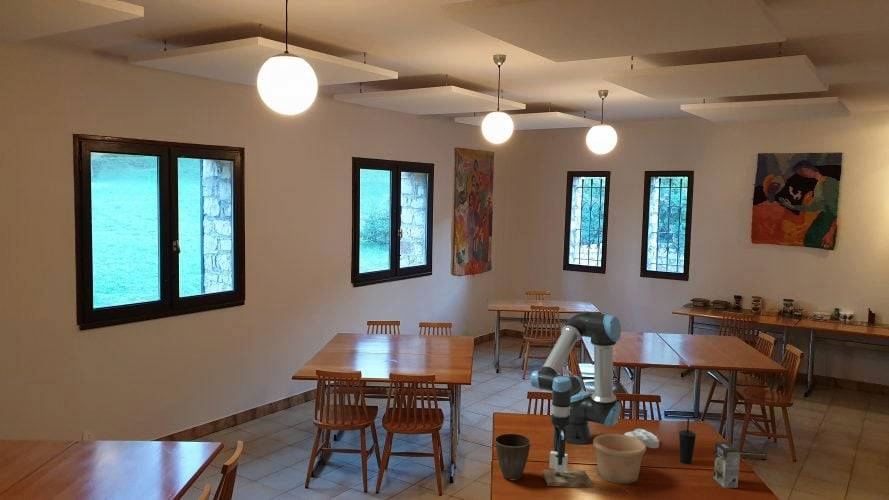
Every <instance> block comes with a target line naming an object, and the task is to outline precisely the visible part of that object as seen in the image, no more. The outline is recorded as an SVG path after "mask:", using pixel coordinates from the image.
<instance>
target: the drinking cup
mask: <svg viewBox="0 0 889 500" xmlns="http://www.w3.org/2000/svg"><path fill="white" fill-rule="evenodd" d="M686 423H687V424H686V428H685V429H680V430H678V436H679V440H678V442H679V460H680V461H679V462H680V463H682V464H684V465H691V464H692V462H693V455H694V449H695V445H696V444H695V443H696V437H697V432H695V431H693V430H691V429H689V427H690V418H687V422H686Z"/></svg>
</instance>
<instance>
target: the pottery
mask: <svg viewBox="0 0 889 500" xmlns="http://www.w3.org/2000/svg"><path fill="white" fill-rule="evenodd" d="M592 446H593V447H594V448H595V452H596V464H597V475H599V477H600V478H601V479H603V480H605V481H606V482H610V483H614V484H618V485H619V484H621V485H622V484H623V485H626V484H628V485H629V484H633V483H635V482H637V481H638V479H639V475H640V469H641V467H642V466H641V464H642V459H643V456H644V454H645V453H646V451H647V446H646V445H645V444H644V443H643V442H642V441H641V440H639V439H636V438H634V437H630V436H627V435H624V434H620V433H619V434H618V433H604V434H599V435H596V436H595V437H594V438H593V439H592Z"/></svg>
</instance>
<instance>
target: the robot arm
mask: <svg viewBox="0 0 889 500" xmlns="http://www.w3.org/2000/svg"><path fill="white" fill-rule="evenodd" d="M621 333H622V326H621V322H620V319H619V318H618V317H617V316H615V315H611V314H607V313H597V312H590V311H582V312H578V313H576V314H574V315H573V316H571V317H570V318H569V319H568V320H567V321H566V322H565V323H564V324H563V326H562V328H561V334H560V336H559V337H558V339H557V341H556V342H555V344H554V346H553V347H552V349H551V351H550V353H549V355H548V357H547V358H546V360H545V362H544V364H542V367H541V369H540V370H534V371H532V373H531V375H530V380H529V381H530V385H531V387H533V388H535V389H539V390H544V391H548V392H552V394H551V395H552V399H551V416H550V417H551V419H550V421H551V425H553V426H554V427H553V448H554V449H553V450H554V452H557V455H556V457H557V458H556V469H555V470H556V472H563V458H564V457H565V454H566V443H568V442H570V443H569V444H572V443H574V445H585V444H589V443H591V441H592V434H591V433H592V432H591V430H590V426H589V422H590V423H594V424H595V423H596V424H599V425H604V426H608V427H609V426H610V427H613V426H615V425H616V424H617V422H618V421H619V418H620V416H621V412H622V411H621V410H622V404H621V403H620V402H619V401H617V396H616V394H614V347H615V345H616V344H617V342H619V340H620V338H621ZM583 337H586V338H590V344H592V345H593V348H594V349H593V350H594V351H593V361H594V362H593V364H594V367H593V368H594V370H593V371H594V373H593V374H594V377H593V378H594V381H593V382H594V392H593V393H592V394H590V392H588V391H585V390H583V389H584V381H583V379H582V378H581V377H580V376H578V375H570V376H566V375H560V372H561V370H562V368H563V366H564V365H565V362H566V361H567V358H568V357H569V355H570V353H571V352H572V350H573V348H574V347H575V345H576V343H577V342H579V341H580V340H581V338H583ZM565 441H567V442H565Z"/></svg>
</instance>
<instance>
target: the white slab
mask: <svg viewBox="0 0 889 500" xmlns="http://www.w3.org/2000/svg"><path fill="white" fill-rule="evenodd" d="M556 455H557V452H555V450H554V451H553V450H551V451H550V452H549V463H548V464H549V466H548V467H549V469H551V470H556V458H557V457H556ZM568 457H569V454H568V453H565V457H564V458H563V471H566V470H568V461H569V459H568ZM556 475H562V476H567V477H573V478H575V476H573V475H567V474H562V473H561V474H560V472H556Z"/></svg>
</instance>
